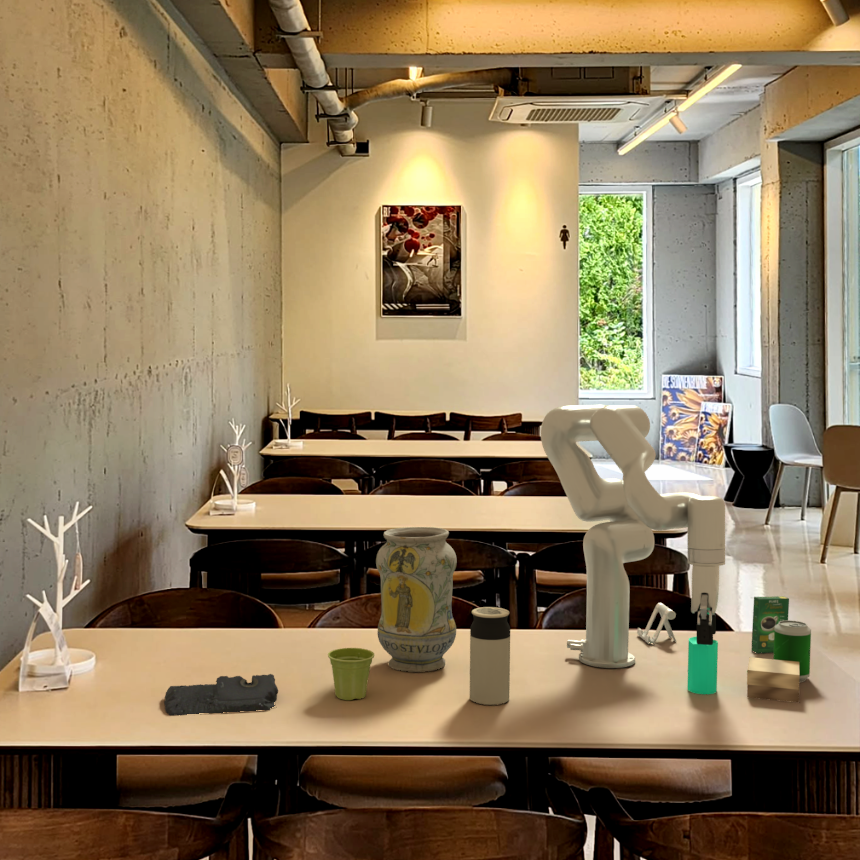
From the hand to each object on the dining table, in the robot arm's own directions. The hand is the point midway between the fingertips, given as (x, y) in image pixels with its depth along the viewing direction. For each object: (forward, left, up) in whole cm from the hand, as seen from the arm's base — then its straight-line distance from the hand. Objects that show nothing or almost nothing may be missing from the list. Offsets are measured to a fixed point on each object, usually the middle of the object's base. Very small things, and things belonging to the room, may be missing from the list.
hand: (706, 638), depth 225 cm
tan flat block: (+13, +3, -11) cm, 18 cm away
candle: (-1, 0, -11) cm, 11 cm away
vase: (-63, -2, -11) cm, 64 cm away
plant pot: (-68, -28, -11) cm, 74 cm away
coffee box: (+12, +36, -11) cm, 40 cm away
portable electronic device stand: (-14, +38, -11) cm, 42 cm away
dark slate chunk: (-91, -39, -12) cm, 99 cm away
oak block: (+13, +3, -8) cm, 16 cm away
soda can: (+17, +15, -11) cm, 26 cm away
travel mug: (-41, -21, -11) cm, 47 cm away
